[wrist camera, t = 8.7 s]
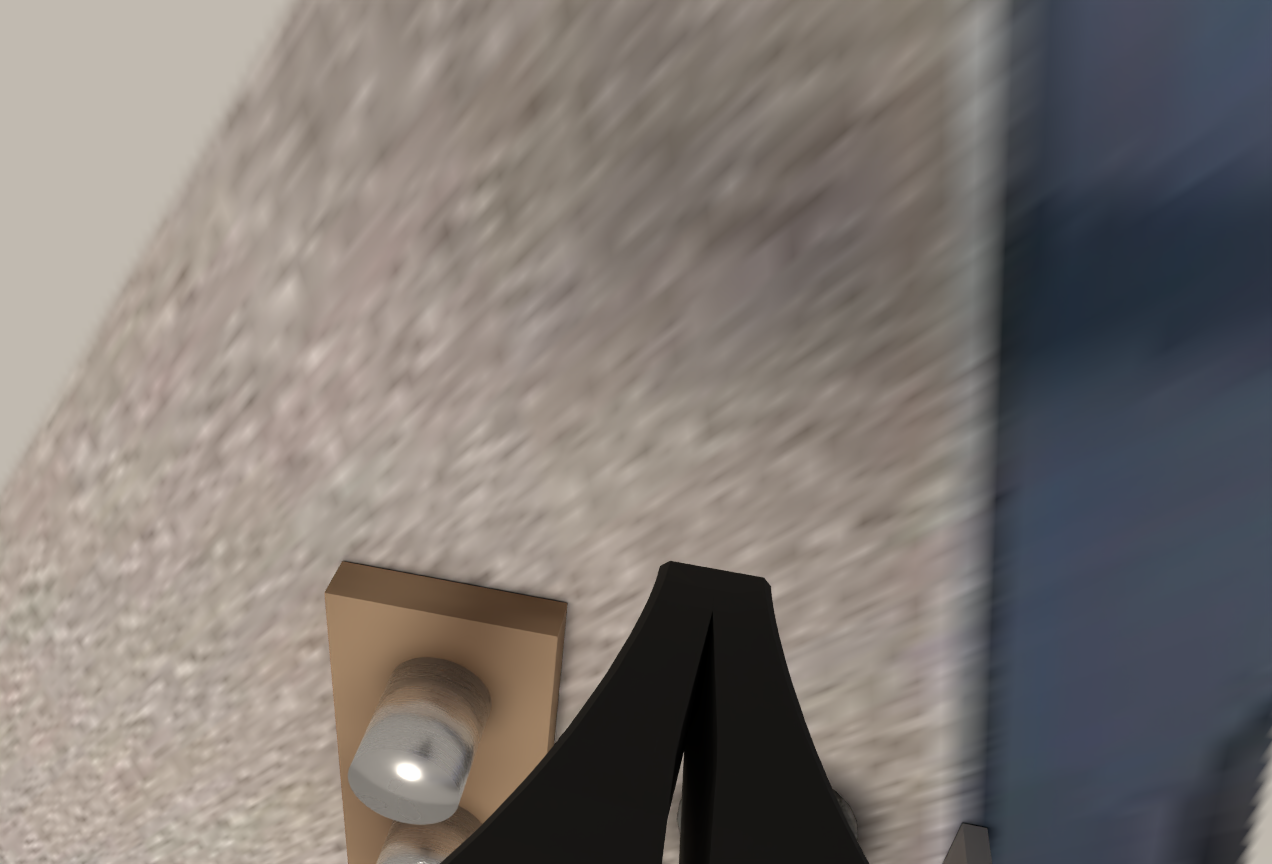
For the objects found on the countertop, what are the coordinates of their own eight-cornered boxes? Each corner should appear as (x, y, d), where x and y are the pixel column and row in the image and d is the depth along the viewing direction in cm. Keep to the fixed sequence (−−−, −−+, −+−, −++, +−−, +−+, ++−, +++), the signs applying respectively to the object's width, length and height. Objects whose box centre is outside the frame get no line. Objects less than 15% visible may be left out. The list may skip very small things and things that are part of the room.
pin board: (567, 603, 27) (529, 732, 24) (541, 869, 34) (509, 999, 31) (342, 561, 28) (273, 682, 24) (361, 833, 35) (310, 957, 31)
